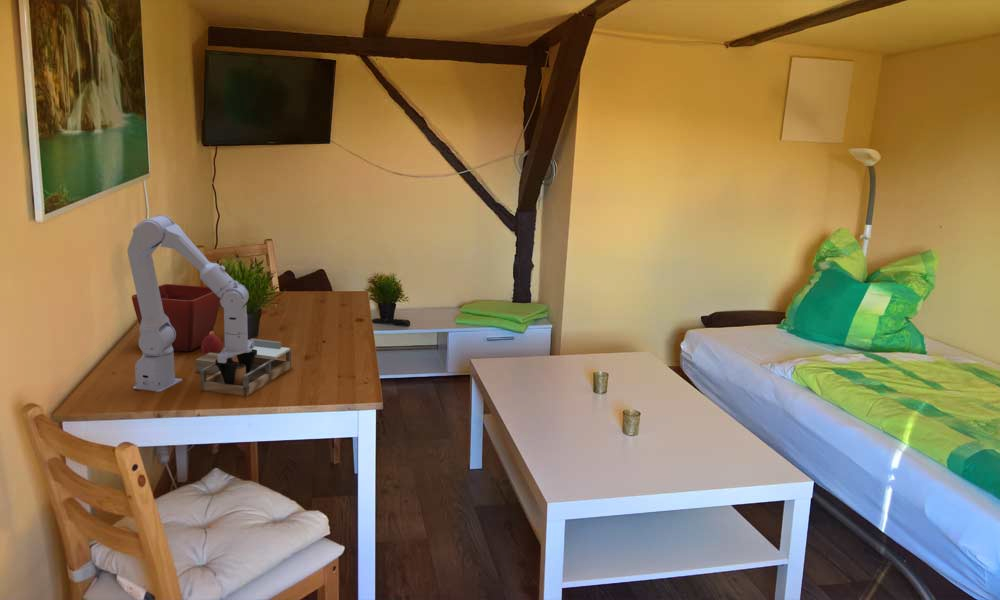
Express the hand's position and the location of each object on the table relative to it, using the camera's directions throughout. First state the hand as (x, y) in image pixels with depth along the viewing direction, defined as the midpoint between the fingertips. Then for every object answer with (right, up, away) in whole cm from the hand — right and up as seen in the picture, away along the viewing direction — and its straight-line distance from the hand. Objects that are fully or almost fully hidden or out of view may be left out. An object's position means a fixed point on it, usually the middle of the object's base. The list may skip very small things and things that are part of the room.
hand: (237, 380), depth 194 cm
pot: (0, -1, 0) cm, 1 cm away
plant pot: (-29, +7, +32) cm, 44 cm away
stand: (-10, +2, +11) cm, 15 cm away
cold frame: (+1, 0, +6) cm, 6 cm away
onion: (-15, +4, +21) cm, 27 cm away
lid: (+3, +7, +11) cm, 13 cm away
